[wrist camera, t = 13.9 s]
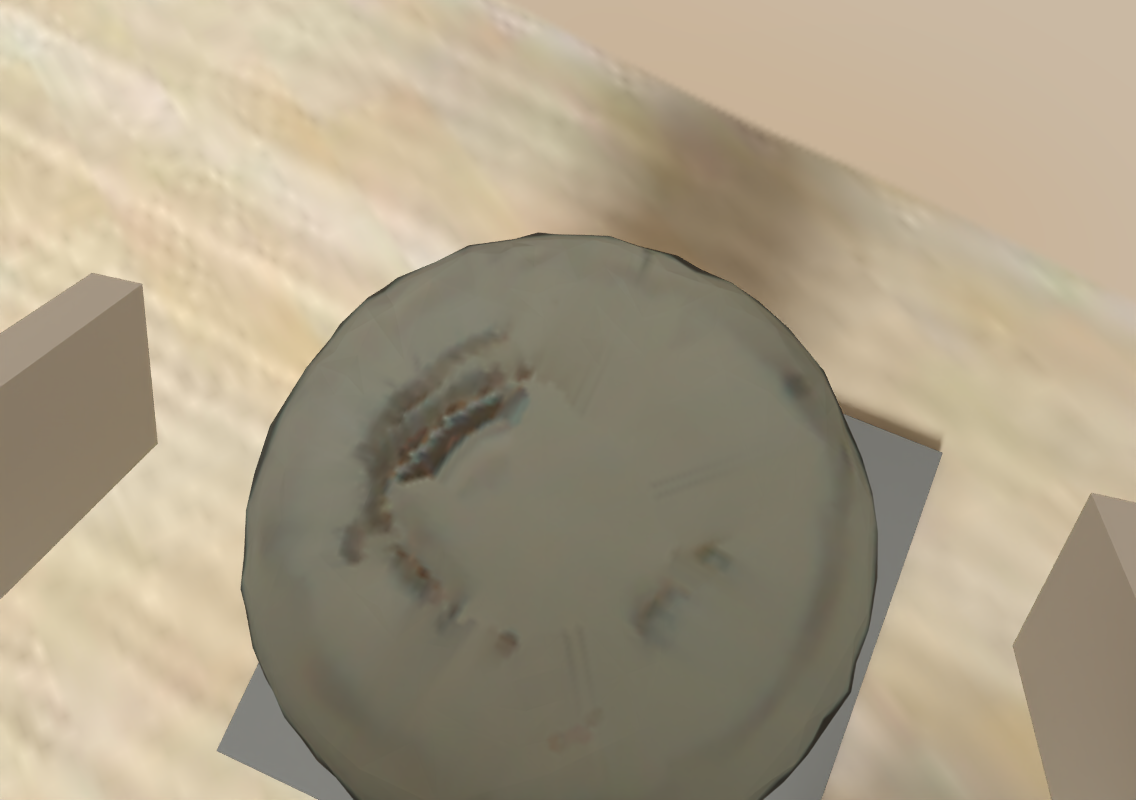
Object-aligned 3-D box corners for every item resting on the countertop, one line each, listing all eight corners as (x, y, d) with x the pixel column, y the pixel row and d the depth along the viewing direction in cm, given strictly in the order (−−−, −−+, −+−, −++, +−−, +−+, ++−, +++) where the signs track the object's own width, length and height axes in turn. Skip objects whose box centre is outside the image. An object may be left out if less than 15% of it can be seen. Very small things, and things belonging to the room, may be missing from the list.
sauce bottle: (438, 506, 26) (-18, 96, 7) (673, 452, 26) (861, -96, 7) (489, 767, 25) (78, 1175, 5) (738, 708, 25) (1213, 899, 5)
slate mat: (938, 454, 26) (942, 452, 26) (747, 1001, 23) (748, 1006, 23) (453, 264, 28) (452, 260, 28) (221, 749, 25) (216, 750, 25)
